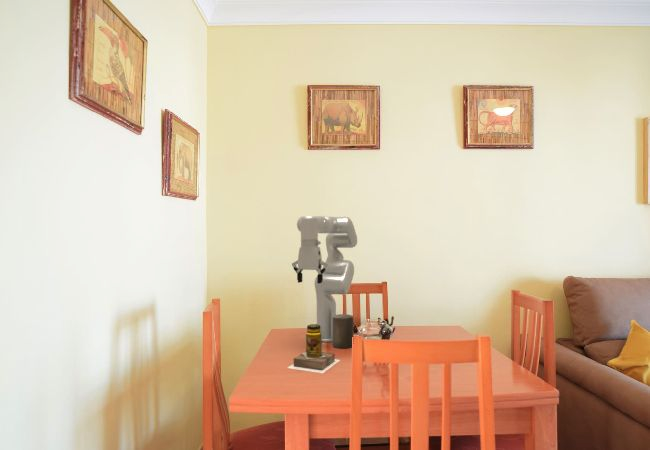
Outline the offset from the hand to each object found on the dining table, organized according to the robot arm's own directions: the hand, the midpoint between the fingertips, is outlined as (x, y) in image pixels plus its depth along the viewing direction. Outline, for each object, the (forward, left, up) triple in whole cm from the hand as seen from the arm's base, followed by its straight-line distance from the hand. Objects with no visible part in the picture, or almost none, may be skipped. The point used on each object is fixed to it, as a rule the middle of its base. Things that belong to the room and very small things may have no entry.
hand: (309, 282), depth 180 cm
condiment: (+16, +10, -27) cm, 33 cm away
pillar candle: (-14, +10, -30) cm, 35 cm away
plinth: (+17, +10, -29) cm, 35 cm away
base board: (+17, +10, -30) cm, 36 cm away
